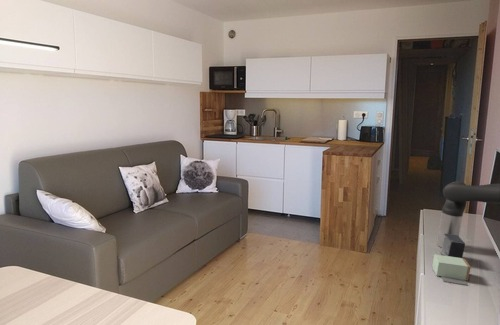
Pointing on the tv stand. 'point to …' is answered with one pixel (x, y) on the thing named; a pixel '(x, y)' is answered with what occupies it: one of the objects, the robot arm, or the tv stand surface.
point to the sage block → (451, 267)
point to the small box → (452, 246)
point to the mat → (454, 280)
